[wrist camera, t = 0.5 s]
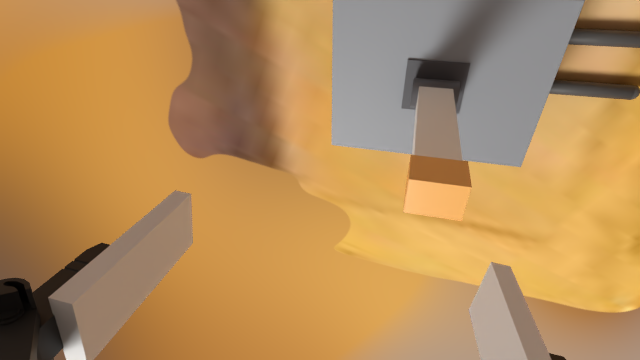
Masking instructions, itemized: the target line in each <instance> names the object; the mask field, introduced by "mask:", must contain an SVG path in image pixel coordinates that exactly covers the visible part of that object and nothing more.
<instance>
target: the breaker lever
mask: <svg viewBox="0 0 640 360" xmlns="http://www.w3.org/2000/svg"><path fill="white" fill-rule="evenodd" d="M459 92H460V81H449V80H435V79H422V78H414V79H413V86H412V93H411V100H410V107H411V108H416V112H415V125H414V137H413V149H412V155H411V157H410V163H409V170H408V176H407V182H406V189H405V200H404V210H403V212H405V213H412V214H419V215H425V216H432V217H438V218H445V219H452V220H458V221H462V218H463V215H464V212H465V208H466V205H467V202H468V198H469V195H470V192H471V188H472V186H471V179H470V173H469V166H468V161H463V160H462V152H461V145H460V137H459V130H458V122H457V115H456V107H457V103H458V98H459Z"/></svg>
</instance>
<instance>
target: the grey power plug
mask: <svg viewBox="0 0 640 360" xmlns="http://www.w3.org/2000/svg"><path fill="white" fill-rule="evenodd" d="M584 1H585V0H333V62H332V145H337V146H346V147H354V148H363V149H371V150H380V151H388V152H397V153H405V154H412V149H413V137H414V125H415V112H416V108H411V107H410V100H411V93H412V86H413V79H414V78H422V79H435V80H449V81H460V92H459V98H458V103H457V107H456V115H457V122H458V130H459V137H460V145H461V152H462V160H465V161H474V162H482V163H491V164H499V165H508V166H516V167H521V165H522V162H523V160H524V157H525V155H526V152H527V149H528V147H529V144H530V142H531V139H532V136H533V134H534V131H535V129H536V126H537V123H538V121H539V118H540V116H541V113H542V110H543V108H544V105H545V103H546V100H547V97H548V95H549V94H562V95H575V96H588V97H601V98H614V99H627V100H631V99H634V98H636V97H637V96H638V95H639V94H640V89H639V88H638V87H637V86H634V85H622V84H607V83H593V82H578V81H564V80H554V79H555V77H556V74H557V71H558V69H559V66H560V64H561V61H562V58H563V56H564V53H565V51H566V48H567V45H568V44H573V45H593V46H613V47H633V48H640V31H619V30H596V29H574V27H575V25H576V22H577V19H578V17H579V14H580V12H581V9H582V6H583V4H584Z"/></svg>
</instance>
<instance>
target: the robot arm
mask: <svg viewBox="0 0 640 360" xmlns="http://www.w3.org/2000/svg"><path fill="white" fill-rule="evenodd" d="M192 243H193V237H192V206H191V194H189V193H184V192H180V191H174V192H173V193H172V194H170V195H169V196H168V197H167V198H166V199H164V200H163V201H162V202H161V203H160V204H158V205H157V206H156V207H155V208H154V209H153V210H151V211H150V212H149V213H148V214H147V215H145V216H144V217H143V218H142V219H141V220H140V221H138V222H137V223H136V224H135V225H134V226H132V227H131V228H130V229H129V230H128V231H127V232H125V233H124V234H123V235H122V236H121V237H119V238H118V239H117V240H116V241H115V242H114V243H112V244H111V245H109V244H104V243H100V244H98V245H96V246H94V247H92V248H90V249H87V250H86V251H84V252H83V253H82V254H81V255H79V256H78V257H77V258H76V259H75V260H74V261H72V262H71V263H69V264H68V265H67V266H65V269H62V270H60V271H59V272H58V273H57V274H55V275H54V276H53V277H52V278H50V279H49V280H48V281H47V282H45V283H44V284H43V285H42V286H40V287H39V288H38V289H36V290H35V291H34V292H33V293H32V289H31V287H30V283H29V282H27V281H26V280H24V279H20V278H9V279H3V280H0V360H54V357H55V356H56V354H57V353H58V352H59V351H60V350H61V349H62V348H63V350H64V353H65V357H66V360H93V359H94V358H95V357H96V356H97V355H98V354H99V353H100V352H101V350H102V349H103V348H104V347H105V345H106V344H107V343H108V342H109V341H110V340H111V339H112V337H113V336H114V335H115V334H116V333H117V332H118V330H119V329H120V328H121V327H122V326H123V324H124V323H125V322H126V321H127V320H128V319H129V317H130V316H131V315H132V314H133V313H134V312H135V310H136V309H137V308H138V307H139V306H140V304H141V303H142V302H143V301H144V300H145V299H146V297H147V296H148V295H149V294H150V293H151V291H152V290H153V289H154V288H155V287H156V286H157V284H158V283H159V282H160V281H161V280H162V279H163V277H164V276H165V275H166V274H167V273H168V272H169V270H170V269H171V268H172V267H173V266H174V264H175V263H176V262H177V261H178V260H179V259H180V257H181V256H182V255H183V254H184V253H185V251H186V250H187V249H188V248H189V247H190V246H191V244H192ZM469 313H470V317H471V321H472V325H473V330H474V334H475V338H476V342H477V346H478V350H479V354H480V358H481V360H566V359H565V358H564V357H562V356H558V355H554V354H550V353H548V351H547V348H546V346H545V344H544V342H543V339H542V337H541V335H540V333H539V330H538V328H537V326H536V324H535V321H534V319H533V317H532V315H531V312H530V310H529V308H528V305H527V303H526V301H525V299H524V296H523V294H522V292H521V290H520V287H519V285H518V283H517V281H516V278H515V276H514V274H513V271H512V269H511V267H510V266H506V265H502V264H497V263H493V262H491V263H490V266H489V268H488V270H487V272H486V274H485V276H484V278H483V280H482V283H481V285H480V287H479V289H478V291H477V293H476V295H475V298H474V300H473V302H472V304H471V306H470V308H469Z"/></svg>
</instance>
